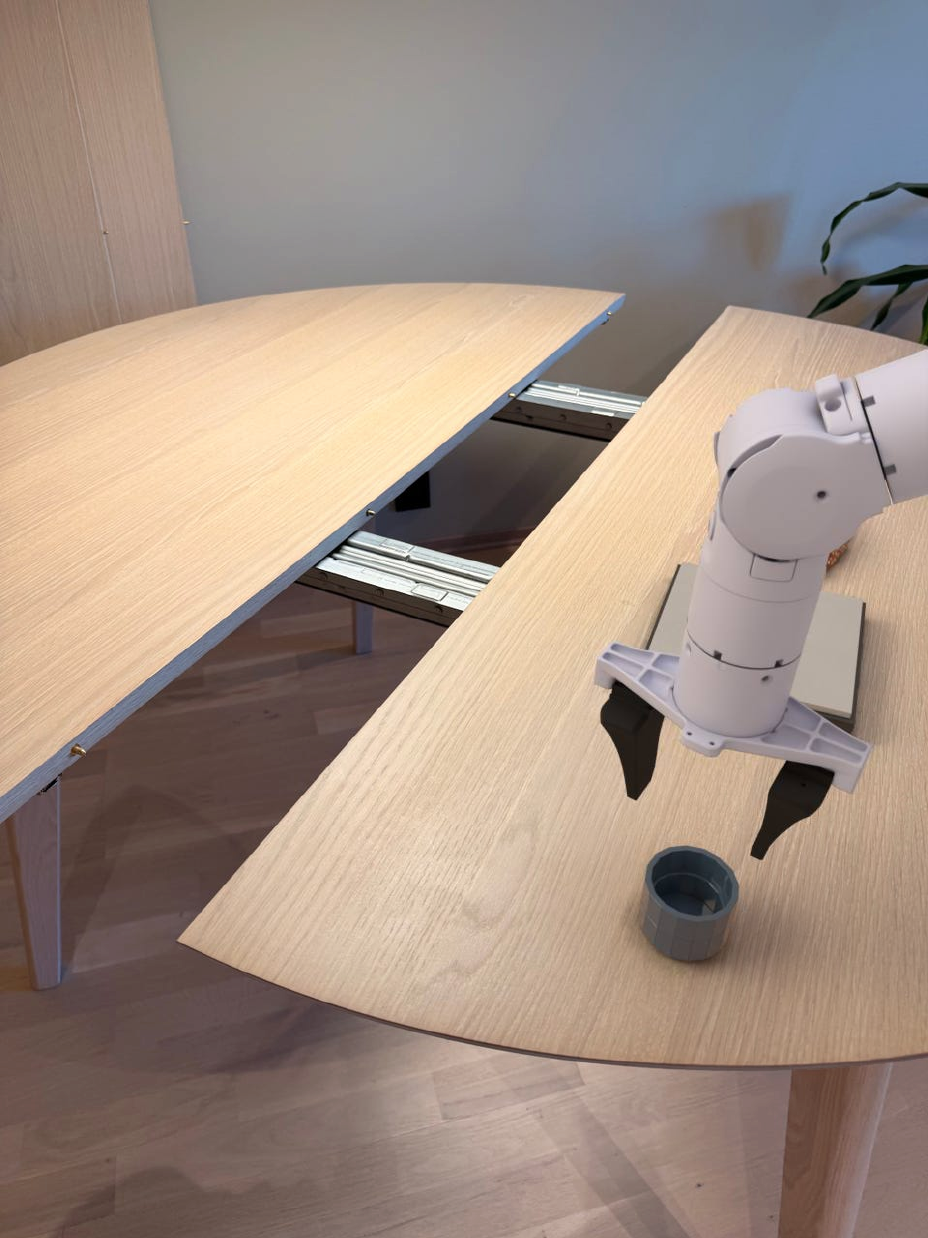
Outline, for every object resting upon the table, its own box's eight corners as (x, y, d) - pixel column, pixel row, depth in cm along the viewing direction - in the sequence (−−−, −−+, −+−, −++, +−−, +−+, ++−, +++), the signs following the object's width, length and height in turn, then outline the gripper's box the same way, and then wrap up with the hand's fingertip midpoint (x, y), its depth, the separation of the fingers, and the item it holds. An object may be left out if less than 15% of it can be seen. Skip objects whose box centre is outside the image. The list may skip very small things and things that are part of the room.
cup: (745, 940, 60) (758, 896, 57) (676, 980, 57) (686, 936, 55) (686, 877, 64) (696, 833, 61) (619, 912, 61) (626, 868, 59)
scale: (850, 744, 74) (859, 718, 72) (633, 691, 79) (637, 665, 77) (862, 622, 86) (870, 597, 85) (674, 582, 91) (678, 558, 90)
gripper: (577, 621, 48) (556, 804, 56) (870, 738, 41) (798, 926, 49) (638, 558, 52) (611, 736, 60) (910, 654, 46) (838, 839, 54)
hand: (698, 816), depth 55 cm, fingers open, 7 cm apart
